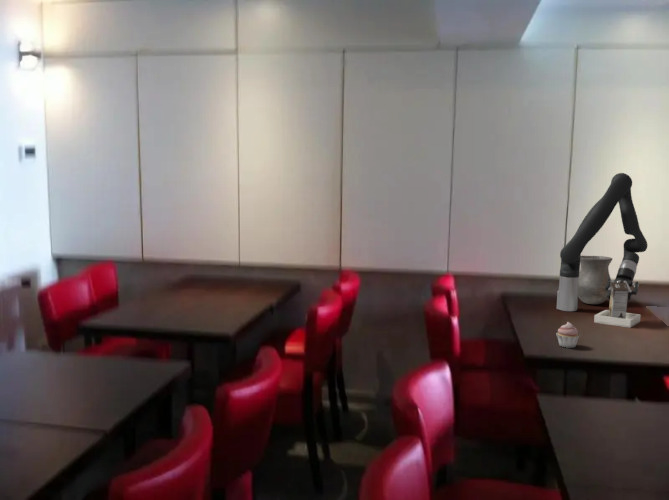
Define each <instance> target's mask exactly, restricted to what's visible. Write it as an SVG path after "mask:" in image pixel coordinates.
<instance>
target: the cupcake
mask: <svg viewBox="0 0 669 500" xmlns="http://www.w3.org/2000/svg"><path fill="white" fill-rule="evenodd" d="M555 335H556V338H557V340H558V345H559V347H561V346H562V347H563V348H565V347H566V348H567V349H573V348H576V346H577V344H578V340H579V337H580V336H581V334H579V331H578V328H576V327H575V326H574V325H573V324H572V323H571V322H569V321H567V322H566V324H562V325H561V326H560V327H559V328H558V329H557V332H556V333H555Z"/></svg>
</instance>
